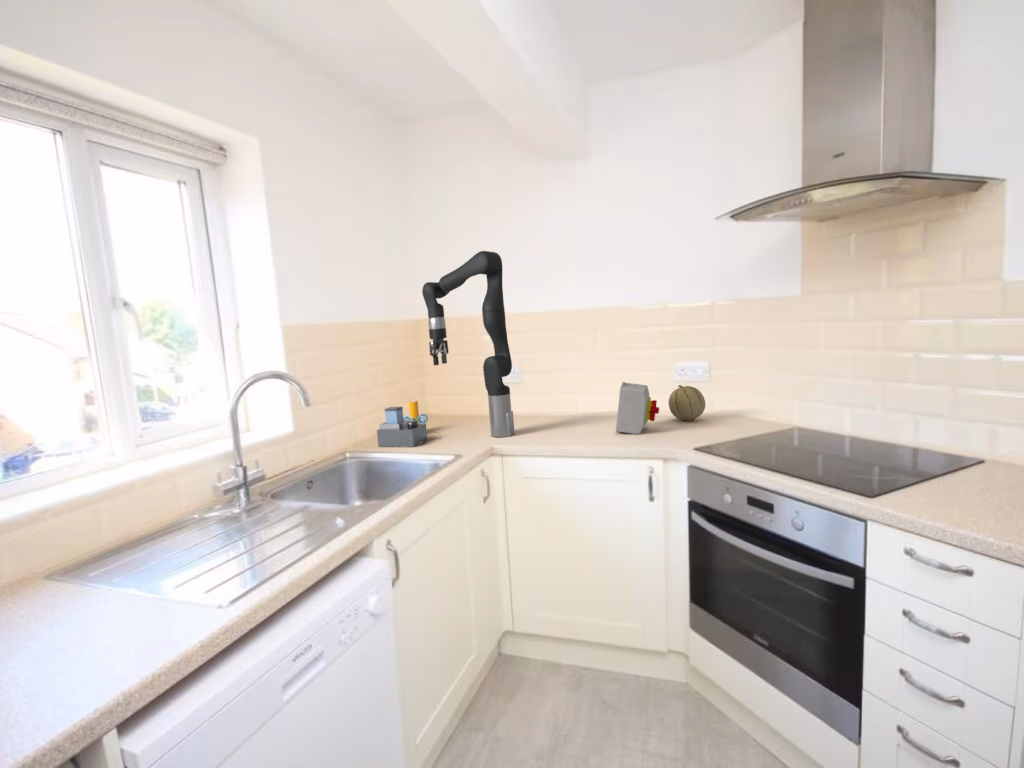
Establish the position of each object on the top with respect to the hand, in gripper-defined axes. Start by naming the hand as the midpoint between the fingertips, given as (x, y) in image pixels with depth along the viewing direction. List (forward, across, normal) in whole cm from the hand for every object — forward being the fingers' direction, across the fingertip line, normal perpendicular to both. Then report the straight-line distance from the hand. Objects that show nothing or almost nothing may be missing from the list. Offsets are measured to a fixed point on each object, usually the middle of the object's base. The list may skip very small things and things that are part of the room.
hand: (440, 364), depth 229 cm
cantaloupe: (+30, +17, -104) cm, 110 cm away
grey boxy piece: (+30, -25, +8) cm, 40 cm away
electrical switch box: (+30, -3, -85) cm, 90 cm away
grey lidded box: (+23, -25, +11) cm, 36 cm away
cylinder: (+30, -8, +11) cm, 33 cm away
